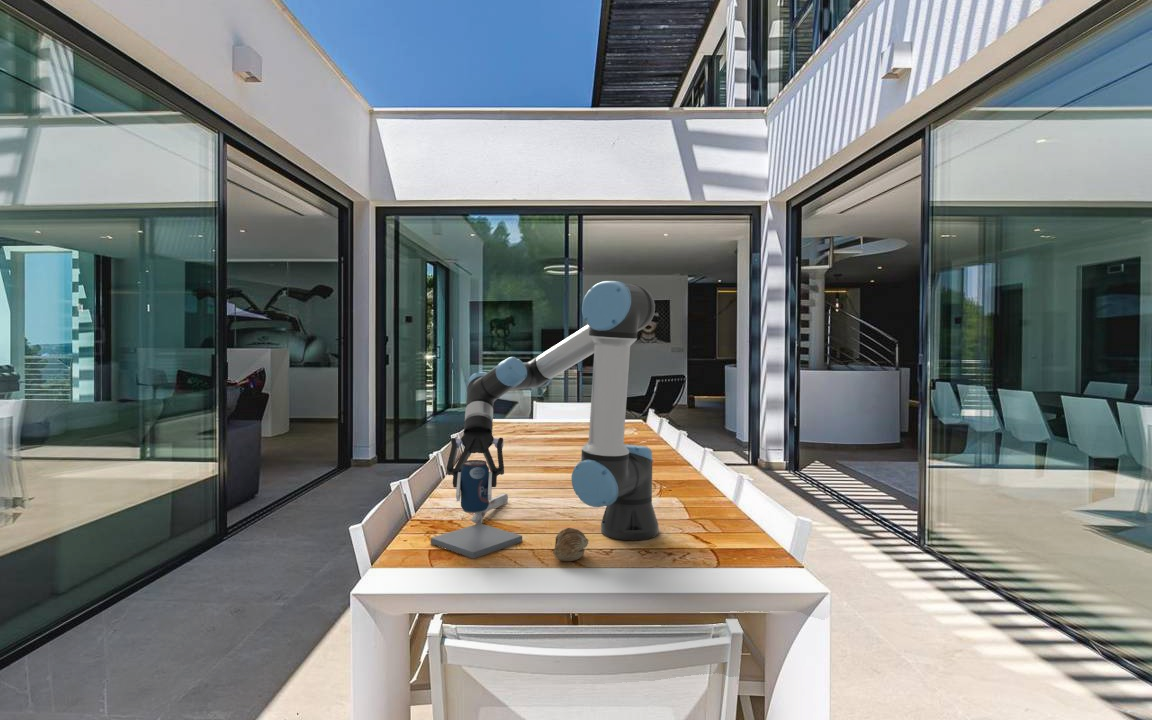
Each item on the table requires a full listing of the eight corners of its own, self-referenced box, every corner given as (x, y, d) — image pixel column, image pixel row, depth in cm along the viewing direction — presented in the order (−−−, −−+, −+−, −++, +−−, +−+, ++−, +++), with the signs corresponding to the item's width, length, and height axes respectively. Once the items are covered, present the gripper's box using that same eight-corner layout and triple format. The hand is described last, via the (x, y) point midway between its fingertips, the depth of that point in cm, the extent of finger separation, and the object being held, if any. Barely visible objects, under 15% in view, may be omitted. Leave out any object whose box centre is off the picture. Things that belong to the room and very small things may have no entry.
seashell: (590, 555, 146) (557, 550, 148) (593, 526, 146) (560, 521, 148) (582, 568, 137) (548, 562, 139) (585, 536, 137) (551, 531, 139)
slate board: (522, 541, 154) (522, 535, 154) (473, 558, 142) (473, 552, 142) (479, 528, 165) (479, 523, 165) (430, 543, 152) (430, 537, 152)
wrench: (507, 511, 192) (474, 528, 163) (502, 511, 193) (467, 528, 164) (508, 485, 193) (475, 498, 164) (503, 485, 193) (469, 497, 164)
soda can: (486, 514, 150) (486, 465, 150) (458, 513, 150) (458, 464, 150) (490, 506, 157) (491, 459, 157) (463, 505, 157) (464, 459, 157)
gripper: (515, 430, 169) (514, 505, 154) (442, 430, 167) (433, 506, 152) (515, 413, 164) (514, 489, 148) (439, 413, 162) (430, 490, 146)
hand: (473, 497), depth 150 cm, fingers closed on soda can, 7 cm apart
